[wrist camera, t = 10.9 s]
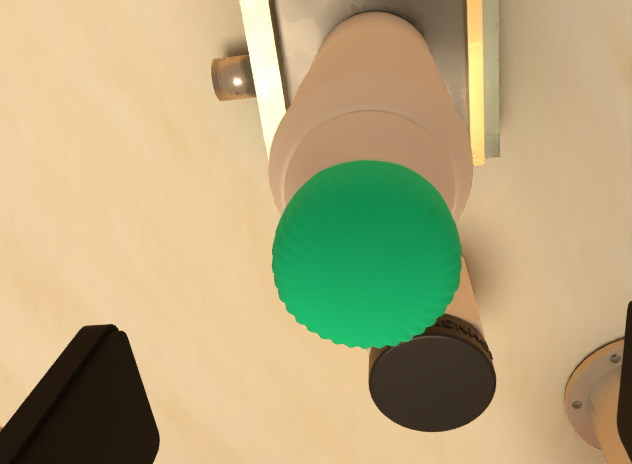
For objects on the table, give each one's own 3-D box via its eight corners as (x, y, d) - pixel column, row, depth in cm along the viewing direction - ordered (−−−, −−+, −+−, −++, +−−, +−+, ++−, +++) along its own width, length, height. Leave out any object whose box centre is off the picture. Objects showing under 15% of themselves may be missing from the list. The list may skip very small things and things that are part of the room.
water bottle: (324, 1, 35) (227, 112, 13) (443, 19, 35) (561, 166, 12) (308, 118, 38) (209, 373, 16) (418, 135, 38) (475, 418, 16)
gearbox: (483, -78, 37) (504, -81, 31) (487, 134, 43) (504, 165, 37) (205, -36, 39) (174, -31, 33) (243, 158, 45) (223, 192, 39)
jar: (491, 259, 47) (524, 354, 36) (455, 339, 51) (476, 447, 40) (381, 230, 47) (382, 317, 36) (354, 313, 50) (347, 414, 40)
